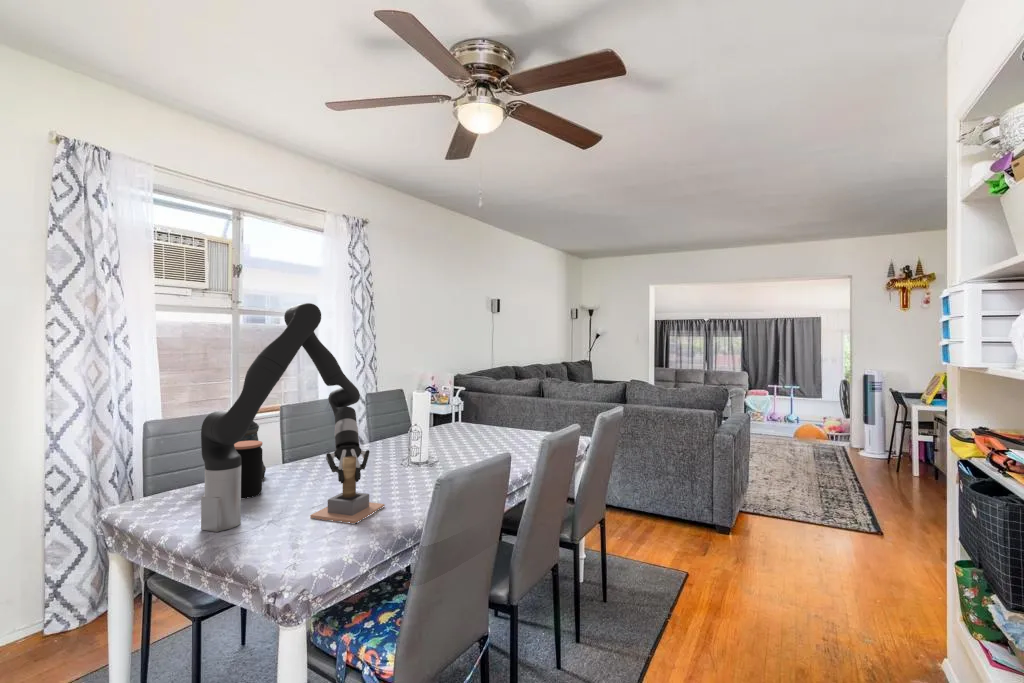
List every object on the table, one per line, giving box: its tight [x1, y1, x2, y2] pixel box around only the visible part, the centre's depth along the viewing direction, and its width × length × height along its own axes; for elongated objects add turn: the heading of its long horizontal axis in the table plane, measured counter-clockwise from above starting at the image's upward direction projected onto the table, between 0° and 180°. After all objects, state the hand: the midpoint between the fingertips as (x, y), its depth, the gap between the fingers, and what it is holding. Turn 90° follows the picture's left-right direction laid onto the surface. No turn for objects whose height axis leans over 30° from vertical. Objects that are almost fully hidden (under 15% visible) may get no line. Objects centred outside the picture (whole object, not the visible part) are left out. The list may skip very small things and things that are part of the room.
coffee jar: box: [234, 440, 263, 499], centre depth 172 cm, size 11×11×18 cm
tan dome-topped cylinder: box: [342, 456, 357, 497], centre depth 156 cm, size 4×4×12 cm
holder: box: [310, 491, 386, 524], centre depth 156 cm, size 16×16×5 cm
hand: (349, 481), depth 154 cm, fingers closed on tan dome-topped cylinder, 4 cm apart
